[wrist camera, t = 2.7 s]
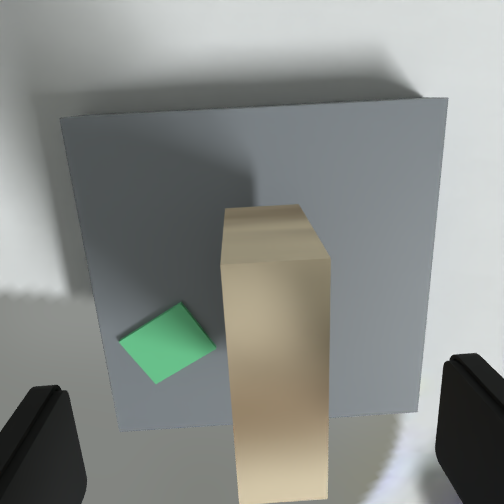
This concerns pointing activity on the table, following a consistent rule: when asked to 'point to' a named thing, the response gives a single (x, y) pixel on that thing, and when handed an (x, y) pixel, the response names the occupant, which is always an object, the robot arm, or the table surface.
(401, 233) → the flat gray square plate
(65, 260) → the table surface
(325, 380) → the tall beige block
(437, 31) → the table surface
